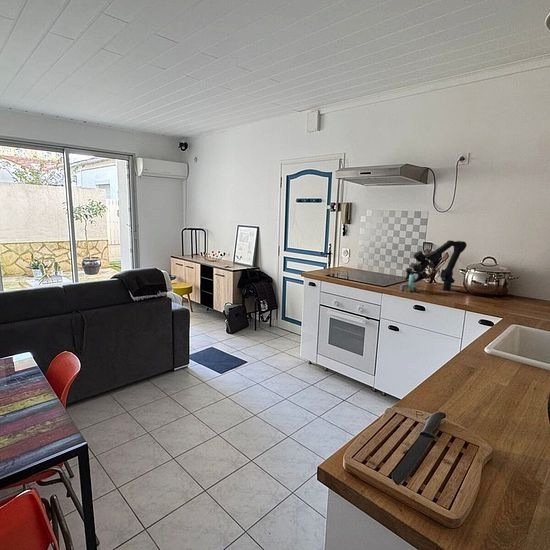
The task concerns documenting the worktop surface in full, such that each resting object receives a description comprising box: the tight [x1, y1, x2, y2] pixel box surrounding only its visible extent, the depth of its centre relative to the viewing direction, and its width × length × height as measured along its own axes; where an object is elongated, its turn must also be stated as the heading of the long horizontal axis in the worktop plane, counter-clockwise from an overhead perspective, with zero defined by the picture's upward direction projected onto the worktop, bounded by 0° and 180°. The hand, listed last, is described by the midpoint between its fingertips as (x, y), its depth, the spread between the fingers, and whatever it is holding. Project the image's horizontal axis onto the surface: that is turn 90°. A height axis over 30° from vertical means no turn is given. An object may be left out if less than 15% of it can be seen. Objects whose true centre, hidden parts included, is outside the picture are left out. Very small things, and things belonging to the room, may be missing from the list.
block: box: [403, 286, 418, 293], centre depth 269 cm, size 6×9×3 cm, turn 122°
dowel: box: [408, 274, 416, 292], centre depth 267 cm, size 4×4×12 cm
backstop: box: [399, 282, 409, 291], centre depth 272 cm, size 2×10×4 cm, turn 122°
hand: (409, 281), depth 267 cm, fingers open, 9 cm apart
